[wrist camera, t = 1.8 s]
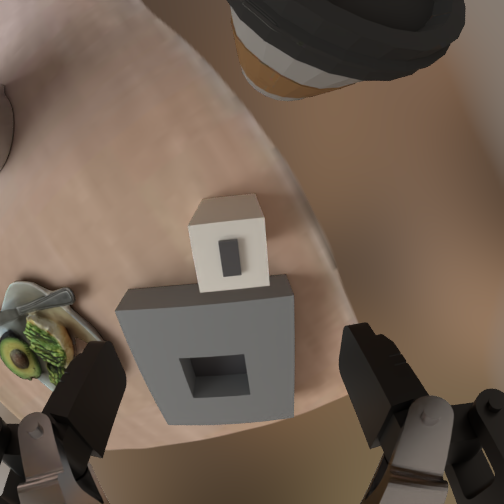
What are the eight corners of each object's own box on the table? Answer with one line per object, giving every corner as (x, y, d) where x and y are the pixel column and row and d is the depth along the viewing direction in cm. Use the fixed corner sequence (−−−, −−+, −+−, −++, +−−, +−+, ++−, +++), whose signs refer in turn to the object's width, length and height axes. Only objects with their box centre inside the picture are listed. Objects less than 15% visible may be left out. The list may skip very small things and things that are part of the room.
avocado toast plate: (26, 227, 21) (-2, 243, 16) (153, 344, 26) (142, 376, 22) (-8, 324, 25) (-24, 342, 21) (84, 404, 30) (74, 427, 26)
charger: (202, 199, 21) (186, 227, 14) (255, 193, 21) (265, 218, 14) (209, 248, 22) (199, 295, 16) (259, 242, 22) (270, 288, 16)
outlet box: (127, 289, 23) (114, 310, 20) (286, 274, 24) (293, 295, 20) (172, 402, 29) (168, 424, 26) (288, 394, 30) (293, 417, 26)
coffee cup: (355, 68, 17) (498, 11, 4) (289, 136, 19) (404, 132, 6) (276, 2, 15) (328, -126, 1) (203, 68, 17) (148, -52, 3)
